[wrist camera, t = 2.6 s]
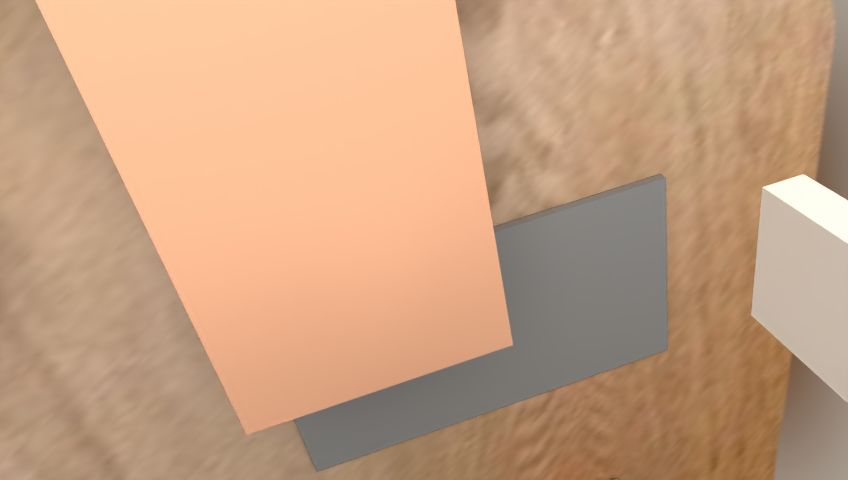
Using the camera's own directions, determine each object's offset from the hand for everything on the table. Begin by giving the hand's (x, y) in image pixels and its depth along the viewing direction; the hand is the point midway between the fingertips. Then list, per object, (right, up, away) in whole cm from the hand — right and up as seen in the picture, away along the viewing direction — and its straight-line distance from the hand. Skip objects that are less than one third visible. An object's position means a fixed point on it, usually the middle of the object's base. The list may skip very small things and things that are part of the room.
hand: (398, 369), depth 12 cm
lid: (-4, +7, +11) cm, 13 cm away
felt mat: (+3, -3, +28) cm, 28 cm away
